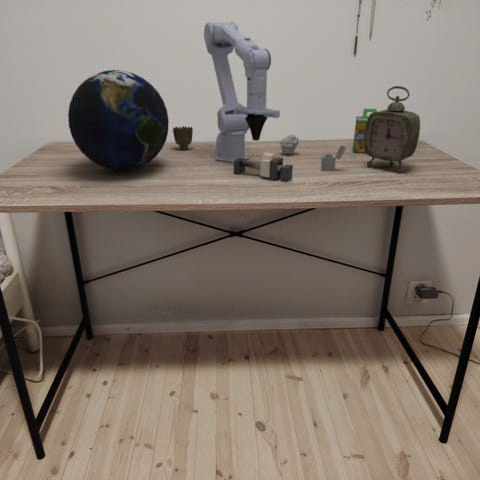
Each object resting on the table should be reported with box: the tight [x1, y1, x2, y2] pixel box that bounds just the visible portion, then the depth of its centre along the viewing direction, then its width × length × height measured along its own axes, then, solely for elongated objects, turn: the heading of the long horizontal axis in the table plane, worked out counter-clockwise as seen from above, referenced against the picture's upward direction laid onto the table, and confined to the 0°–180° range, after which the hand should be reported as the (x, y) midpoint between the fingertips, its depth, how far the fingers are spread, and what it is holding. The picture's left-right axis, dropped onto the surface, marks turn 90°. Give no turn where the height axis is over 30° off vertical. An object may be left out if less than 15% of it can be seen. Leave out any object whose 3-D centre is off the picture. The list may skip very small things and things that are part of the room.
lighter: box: [320, 144, 347, 172], centre depth 138 cm, size 7×2×8 cm, turn 89°
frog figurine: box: [279, 134, 300, 155], centre depth 156 cm, size 6×7×7 cm
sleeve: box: [260, 152, 276, 178], centre depth 132 cm, size 3×5×6 cm, turn 151°
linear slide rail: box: [233, 158, 294, 183], centre depth 133 cm, size 18×4×4 cm, turn 62°
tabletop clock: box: [364, 85, 421, 173], centre depth 136 cm, size 14×9×25 cm, turn 47°
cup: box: [172, 125, 194, 151], centre depth 164 cm, size 8×7×8 cm
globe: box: [67, 69, 169, 172], centre depth 136 cm, size 30×30×30 cm
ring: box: [268, 156, 284, 180], centre depth 131 cm, size 2×5×5 cm, turn 152°
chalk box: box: [352, 108, 378, 154], centre depth 159 cm, size 9×9×15 cm
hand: (256, 139), depth 135 cm, fingers closed
